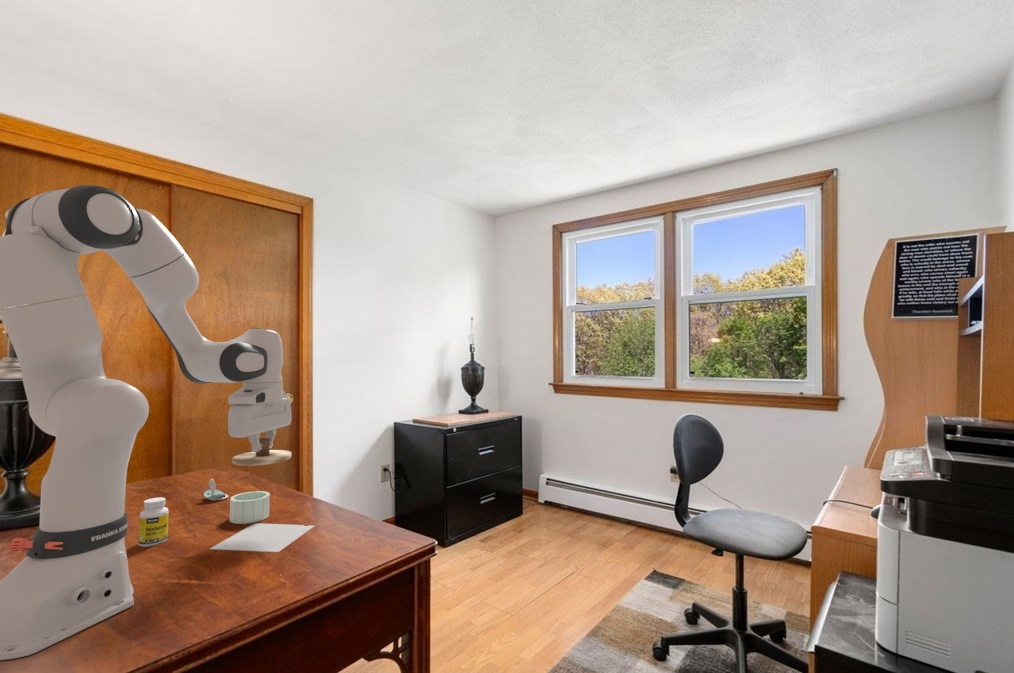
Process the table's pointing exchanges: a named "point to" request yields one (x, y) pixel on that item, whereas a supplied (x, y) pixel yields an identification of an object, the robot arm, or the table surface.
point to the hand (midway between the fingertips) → (262, 449)
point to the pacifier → (214, 492)
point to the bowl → (249, 507)
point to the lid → (262, 456)
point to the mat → (263, 537)
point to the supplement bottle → (153, 523)
